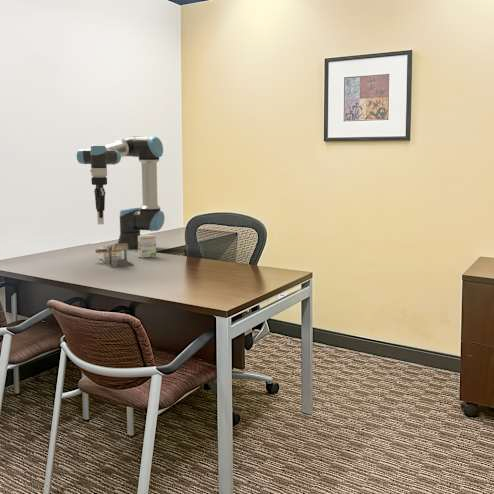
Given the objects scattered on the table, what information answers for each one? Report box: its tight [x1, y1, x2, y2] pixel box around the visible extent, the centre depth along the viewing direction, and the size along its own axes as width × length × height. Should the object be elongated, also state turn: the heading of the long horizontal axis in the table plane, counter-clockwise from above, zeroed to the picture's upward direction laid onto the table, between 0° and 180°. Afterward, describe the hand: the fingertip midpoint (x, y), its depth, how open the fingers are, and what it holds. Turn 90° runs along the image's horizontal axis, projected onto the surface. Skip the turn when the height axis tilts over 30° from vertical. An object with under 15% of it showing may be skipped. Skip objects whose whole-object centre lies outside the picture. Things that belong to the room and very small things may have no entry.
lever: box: [95, 243, 129, 254], centre depth 279 cm, size 18×12×3 cm, turn 28°
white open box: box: [98, 246, 123, 262], centre depth 293 cm, size 9×10×6 cm
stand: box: [102, 247, 135, 269], centre depth 279 cm, size 17×11×8 cm, turn 28°
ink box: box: [137, 234, 157, 258], centre depth 299 cm, size 9×5×12 cm, turn 122°
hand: (100, 224), depth 281 cm, fingers closed
